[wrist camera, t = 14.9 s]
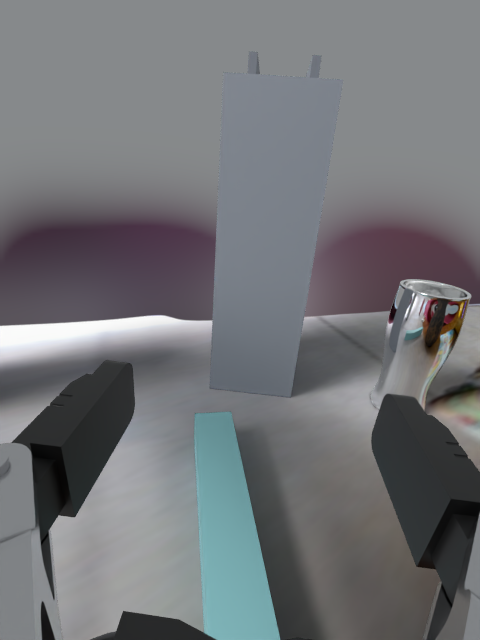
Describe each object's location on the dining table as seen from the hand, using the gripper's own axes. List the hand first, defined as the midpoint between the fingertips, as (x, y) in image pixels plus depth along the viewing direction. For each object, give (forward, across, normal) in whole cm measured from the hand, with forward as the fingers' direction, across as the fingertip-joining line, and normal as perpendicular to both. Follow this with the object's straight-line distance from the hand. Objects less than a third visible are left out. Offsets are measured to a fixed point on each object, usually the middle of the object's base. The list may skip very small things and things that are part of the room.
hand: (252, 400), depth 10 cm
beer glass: (+25, -18, +18) cm, 36 cm away
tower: (+29, 0, +17) cm, 34 cm away
